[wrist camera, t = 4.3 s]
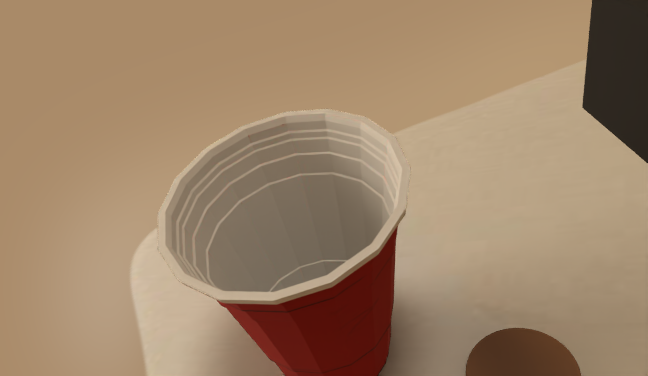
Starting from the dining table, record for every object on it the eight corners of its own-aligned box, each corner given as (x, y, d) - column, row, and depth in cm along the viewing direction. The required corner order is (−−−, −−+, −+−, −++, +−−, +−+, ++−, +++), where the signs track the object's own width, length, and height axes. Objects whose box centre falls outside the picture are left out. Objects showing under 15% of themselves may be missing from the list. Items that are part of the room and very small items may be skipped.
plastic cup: (198, 418, 31) (94, 259, 23) (288, 263, 38) (230, 103, 30) (401, 485, 26) (353, 313, 19) (459, 294, 33) (442, 115, 26)
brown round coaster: (506, 316, 32) (505, 310, 31) (602, 371, 28) (603, 365, 28) (444, 386, 29) (443, 380, 29) (541, 454, 26) (541, 448, 26)
